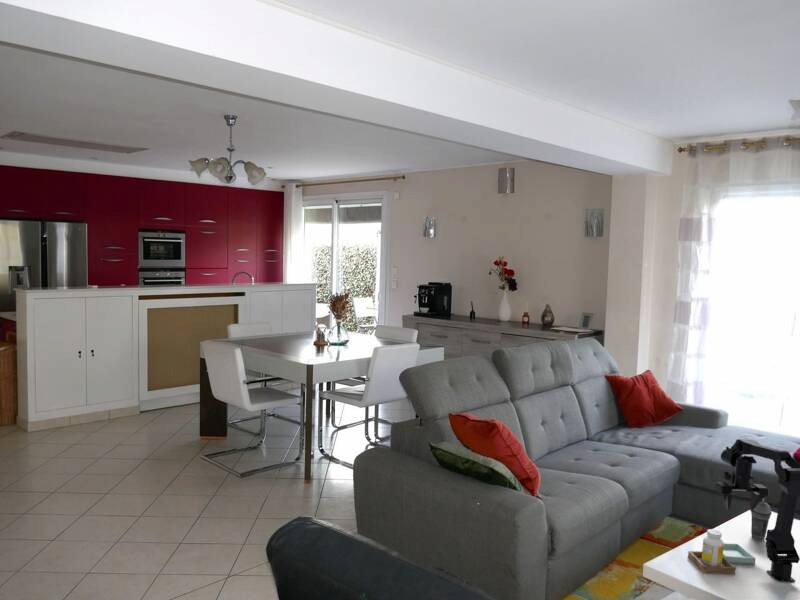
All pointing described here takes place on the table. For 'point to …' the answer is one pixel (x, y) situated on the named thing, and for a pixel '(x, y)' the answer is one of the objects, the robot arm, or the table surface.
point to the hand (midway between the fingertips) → (739, 510)
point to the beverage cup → (760, 520)
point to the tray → (737, 554)
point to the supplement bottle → (712, 548)
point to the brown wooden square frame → (728, 568)
